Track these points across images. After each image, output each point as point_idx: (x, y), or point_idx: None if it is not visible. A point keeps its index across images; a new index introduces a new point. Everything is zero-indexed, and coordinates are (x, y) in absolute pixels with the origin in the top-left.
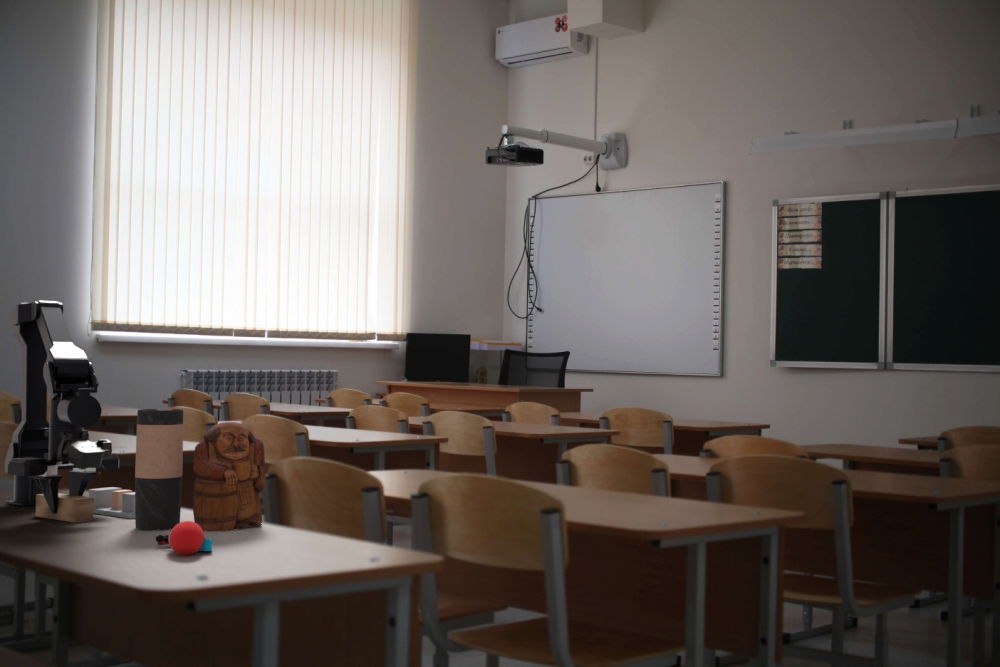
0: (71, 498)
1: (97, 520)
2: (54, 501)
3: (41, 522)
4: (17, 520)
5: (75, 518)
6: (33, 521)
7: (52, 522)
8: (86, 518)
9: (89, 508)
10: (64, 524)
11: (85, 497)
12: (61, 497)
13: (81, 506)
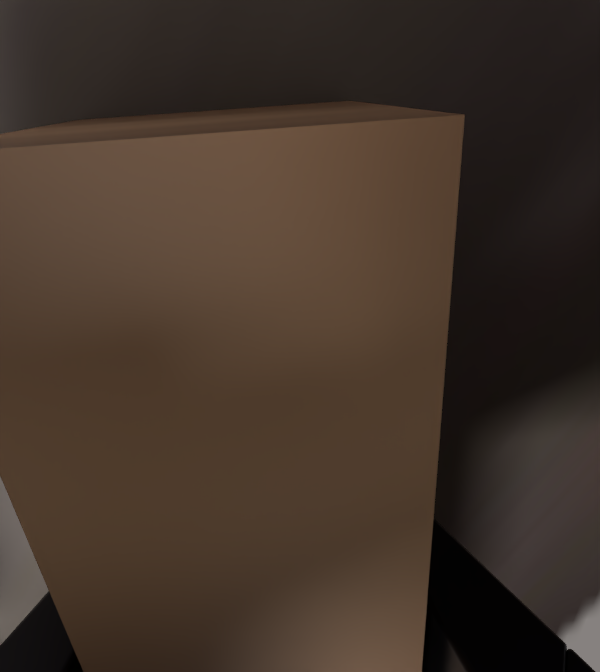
0: (386, 399)
1: (46, 18)
2: (480, 572)
3: (555, 370)
4: (566, 573)
5: (360, 102)
6: (546, 464)
7: (503, 296)
8: (180, 114)
9: (97, 125)
10: (543, 32)
11: (60, 355)
12: (406, 611)
13: (275, 117)
